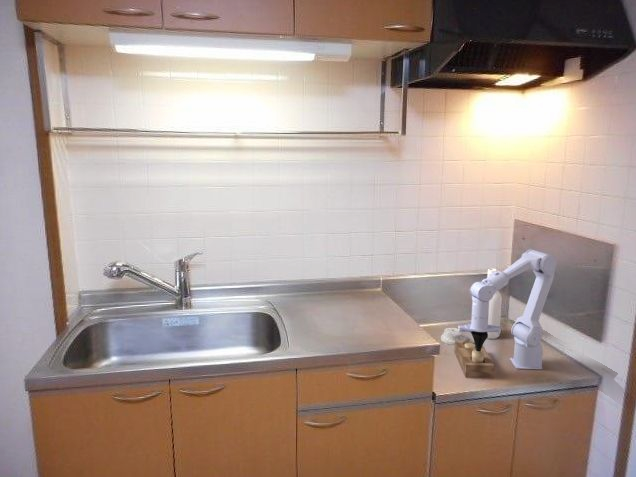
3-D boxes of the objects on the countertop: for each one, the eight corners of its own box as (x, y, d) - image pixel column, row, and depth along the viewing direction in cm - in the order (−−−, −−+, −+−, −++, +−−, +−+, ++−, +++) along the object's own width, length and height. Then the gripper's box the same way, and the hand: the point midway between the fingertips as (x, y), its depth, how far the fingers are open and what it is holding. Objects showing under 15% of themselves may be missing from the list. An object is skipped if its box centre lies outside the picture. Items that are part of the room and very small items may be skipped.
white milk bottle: (484, 329, 206) (487, 265, 199) (503, 335, 199) (507, 269, 193) (474, 335, 200) (477, 269, 193) (493, 341, 194) (497, 273, 187)
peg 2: (481, 361, 170) (482, 350, 169) (484, 367, 166) (485, 355, 165) (470, 361, 170) (471, 349, 169) (473, 366, 166) (473, 354, 165)
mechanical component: (468, 339, 197) (446, 333, 203) (469, 329, 196) (447, 324, 202) (459, 347, 189) (436, 341, 196) (459, 337, 188) (437, 331, 195)
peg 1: (473, 354, 182) (473, 342, 181) (475, 358, 178) (476, 347, 177) (463, 353, 182) (463, 342, 181) (465, 358, 179) (465, 347, 178)
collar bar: (479, 352, 184) (480, 341, 183) (493, 378, 164) (494, 365, 163) (454, 352, 185) (454, 340, 184) (465, 377, 165) (466, 364, 164)
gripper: (497, 311, 167) (495, 345, 170) (457, 310, 168) (455, 344, 171) (503, 318, 160) (501, 354, 163) (461, 318, 162) (459, 353, 164)
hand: (478, 350), depth 167 cm, fingers closed
